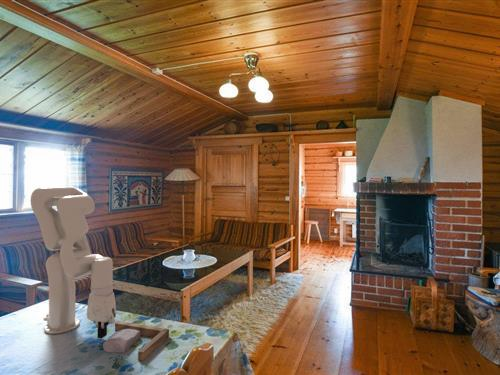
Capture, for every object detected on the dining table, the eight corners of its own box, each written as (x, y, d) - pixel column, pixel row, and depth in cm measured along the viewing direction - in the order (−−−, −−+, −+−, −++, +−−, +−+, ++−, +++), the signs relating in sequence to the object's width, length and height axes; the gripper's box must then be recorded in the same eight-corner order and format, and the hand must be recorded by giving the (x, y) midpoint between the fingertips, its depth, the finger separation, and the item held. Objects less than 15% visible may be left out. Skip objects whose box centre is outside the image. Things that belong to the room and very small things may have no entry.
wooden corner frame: (86, 349, 111) (86, 341, 110) (118, 328, 127) (118, 321, 127) (143, 360, 104) (143, 352, 104) (168, 336, 120) (169, 329, 120)
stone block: (100, 356, 110) (125, 354, 108) (98, 343, 110) (123, 340, 108) (120, 340, 122) (142, 338, 120) (118, 328, 122) (140, 326, 120)
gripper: (78, 291, 115) (78, 338, 115) (111, 295, 111) (111, 344, 111) (93, 284, 122) (93, 329, 123) (124, 288, 118) (125, 334, 119)
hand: (102, 336), depth 117 cm, fingers closed
